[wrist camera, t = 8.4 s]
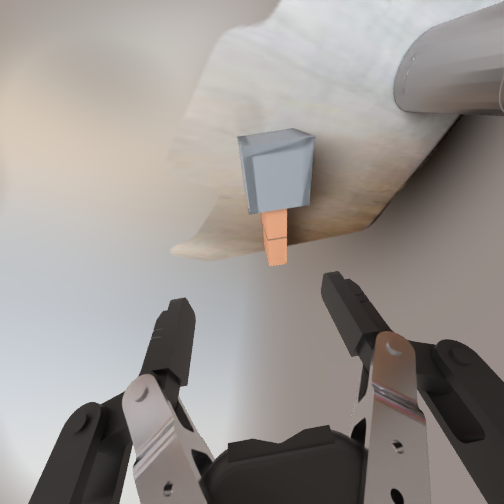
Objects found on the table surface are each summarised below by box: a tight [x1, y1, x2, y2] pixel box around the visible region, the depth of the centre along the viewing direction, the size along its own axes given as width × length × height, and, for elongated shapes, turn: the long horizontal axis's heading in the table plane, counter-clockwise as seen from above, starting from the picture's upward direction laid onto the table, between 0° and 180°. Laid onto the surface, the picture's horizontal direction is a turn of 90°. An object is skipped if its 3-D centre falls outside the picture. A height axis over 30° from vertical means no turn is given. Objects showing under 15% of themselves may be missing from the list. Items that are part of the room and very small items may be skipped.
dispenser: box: [238, 129, 315, 214], centre depth 29 cm, size 9×10×9 cm
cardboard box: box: [262, 209, 287, 266], centre depth 37 cm, size 4×15×6 cm, turn 6°
